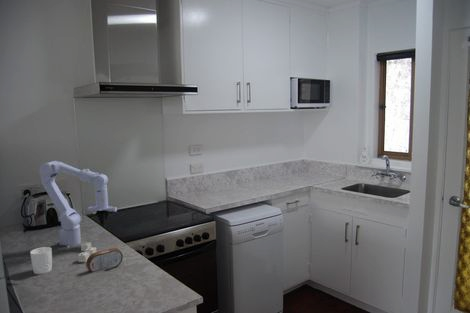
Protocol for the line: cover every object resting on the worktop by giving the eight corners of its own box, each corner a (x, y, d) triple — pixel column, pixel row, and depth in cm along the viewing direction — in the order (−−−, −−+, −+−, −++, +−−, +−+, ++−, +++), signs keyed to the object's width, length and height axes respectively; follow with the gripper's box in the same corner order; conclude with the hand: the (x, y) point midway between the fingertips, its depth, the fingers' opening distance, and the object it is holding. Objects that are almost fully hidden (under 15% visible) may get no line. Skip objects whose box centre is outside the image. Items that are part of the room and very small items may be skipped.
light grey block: (81, 251, 171) (80, 243, 170) (84, 248, 174) (84, 241, 174) (88, 251, 170) (87, 243, 170) (91, 248, 174) (91, 241, 173)
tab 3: (85, 256, 164) (85, 248, 164) (89, 253, 167) (89, 246, 167) (93, 256, 164) (92, 248, 163) (96, 254, 167) (96, 246, 166)
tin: (121, 263, 159) (120, 245, 158) (124, 265, 157) (123, 247, 156) (86, 274, 149) (85, 254, 148) (89, 276, 147) (87, 256, 146)
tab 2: (78, 262, 158) (77, 253, 158) (82, 259, 161) (81, 251, 161) (85, 262, 158) (85, 254, 157) (89, 259, 161) (89, 251, 160)
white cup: (57, 270, 153) (55, 247, 152) (42, 278, 146) (40, 255, 144) (43, 268, 156) (41, 246, 154) (27, 276, 148) (25, 252, 147)
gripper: (83, 200, 176) (85, 227, 177) (111, 200, 174) (113, 228, 175) (91, 196, 183) (93, 222, 184) (118, 197, 180) (119, 223, 182)
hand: (103, 225), depth 180 cm, fingers closed
